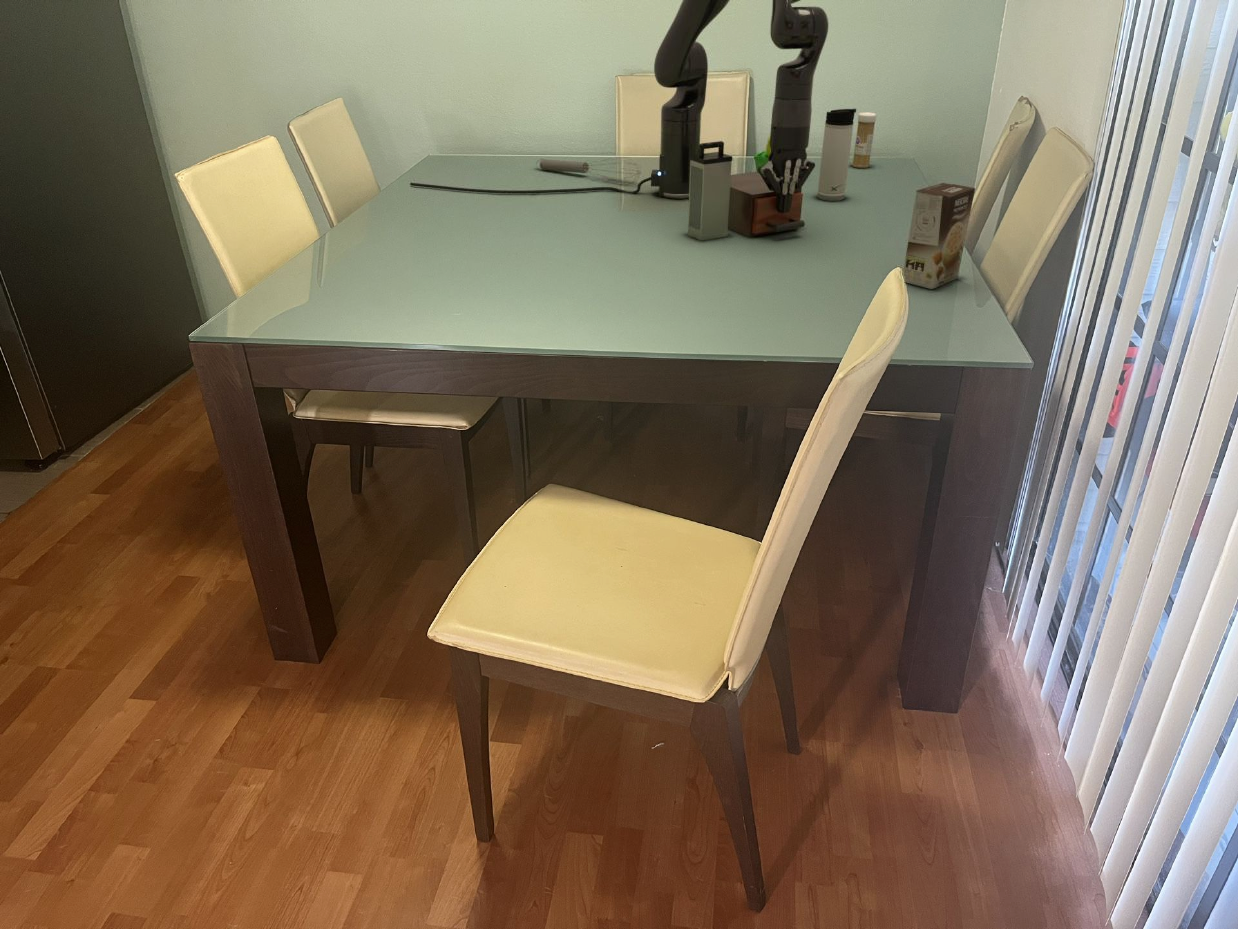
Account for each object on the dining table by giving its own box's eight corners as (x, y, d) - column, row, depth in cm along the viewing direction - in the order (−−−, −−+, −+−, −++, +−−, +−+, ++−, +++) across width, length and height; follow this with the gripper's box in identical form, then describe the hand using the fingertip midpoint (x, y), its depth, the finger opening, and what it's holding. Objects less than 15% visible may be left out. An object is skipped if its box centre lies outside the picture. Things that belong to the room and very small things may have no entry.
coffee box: (933, 290, 156) (950, 196, 148) (900, 281, 160) (914, 190, 152) (958, 278, 162) (976, 187, 154) (926, 270, 166) (941, 181, 158)
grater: (728, 236, 185) (733, 142, 176) (700, 240, 182) (704, 146, 173) (713, 230, 189) (718, 138, 180) (686, 234, 186) (690, 141, 177)
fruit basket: (803, 176, 231) (808, 129, 226) (790, 182, 225) (794, 135, 219) (763, 170, 237) (766, 125, 231) (748, 177, 230) (751, 131, 225)
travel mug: (838, 202, 208) (849, 111, 198) (812, 198, 211) (822, 108, 201) (850, 197, 212) (861, 107, 202) (824, 193, 216) (834, 104, 205)
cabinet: (797, 228, 190) (801, 187, 185) (749, 237, 184) (752, 194, 180) (751, 210, 202) (754, 171, 198) (704, 218, 197) (706, 178, 193)
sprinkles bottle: (848, 166, 241) (854, 113, 234) (859, 163, 243) (866, 111, 237) (861, 169, 238) (868, 115, 231) (873, 166, 240) (880, 113, 234)
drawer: (812, 231, 185) (816, 197, 181) (767, 239, 180) (770, 204, 177) (755, 209, 200) (758, 178, 196) (713, 216, 195) (714, 184, 191)
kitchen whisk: (543, 166, 242) (542, 141, 239) (646, 184, 225) (646, 158, 222) (528, 170, 238) (527, 145, 235) (632, 189, 221) (632, 162, 218)
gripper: (805, 116, 180) (797, 203, 188) (751, 122, 174) (745, 212, 183) (830, 122, 174) (820, 212, 183) (775, 128, 168) (767, 220, 177)
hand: (782, 211), depth 183 cm, fingers closed
